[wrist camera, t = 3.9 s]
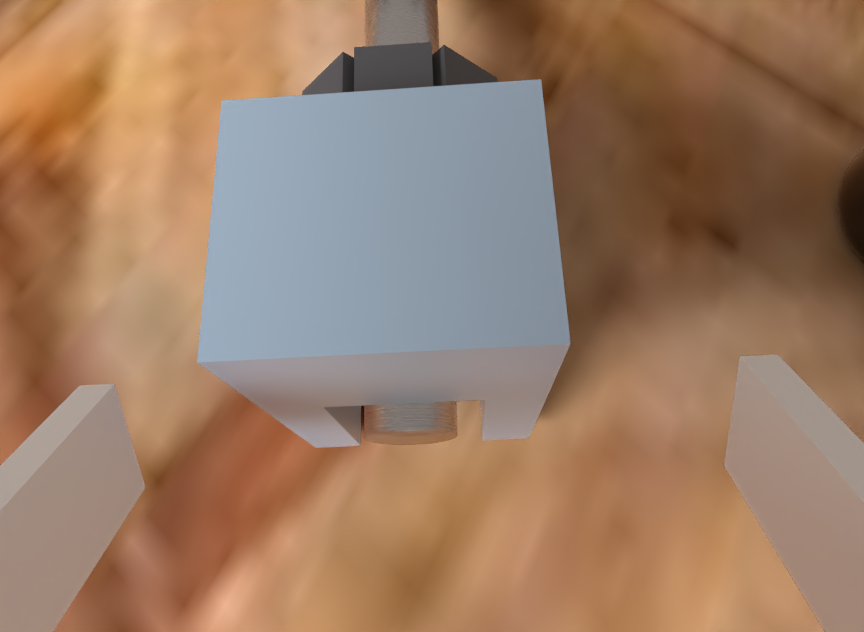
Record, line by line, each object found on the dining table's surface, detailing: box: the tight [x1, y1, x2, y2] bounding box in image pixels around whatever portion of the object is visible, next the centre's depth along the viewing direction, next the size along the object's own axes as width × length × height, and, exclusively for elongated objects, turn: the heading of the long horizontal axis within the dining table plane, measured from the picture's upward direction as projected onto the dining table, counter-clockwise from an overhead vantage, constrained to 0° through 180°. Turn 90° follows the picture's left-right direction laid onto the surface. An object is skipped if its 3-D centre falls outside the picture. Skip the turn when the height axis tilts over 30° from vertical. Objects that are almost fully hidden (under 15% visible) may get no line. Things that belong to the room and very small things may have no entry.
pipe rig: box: [364, 0, 458, 445], centre depth 24 cm, size 25×7×7 cm, turn 2°
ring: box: [302, 42, 497, 95], centre depth 21 cm, size 2×6×6 cm, turn 92°
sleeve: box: [197, 79, 571, 448], centre depth 18 cm, size 6×7×10 cm
